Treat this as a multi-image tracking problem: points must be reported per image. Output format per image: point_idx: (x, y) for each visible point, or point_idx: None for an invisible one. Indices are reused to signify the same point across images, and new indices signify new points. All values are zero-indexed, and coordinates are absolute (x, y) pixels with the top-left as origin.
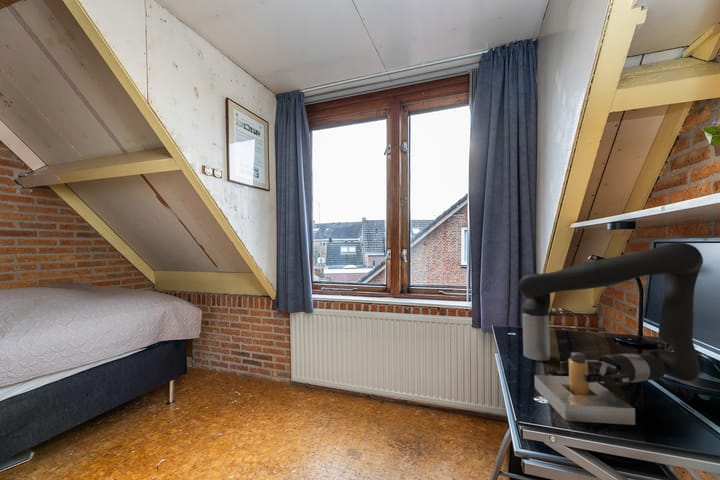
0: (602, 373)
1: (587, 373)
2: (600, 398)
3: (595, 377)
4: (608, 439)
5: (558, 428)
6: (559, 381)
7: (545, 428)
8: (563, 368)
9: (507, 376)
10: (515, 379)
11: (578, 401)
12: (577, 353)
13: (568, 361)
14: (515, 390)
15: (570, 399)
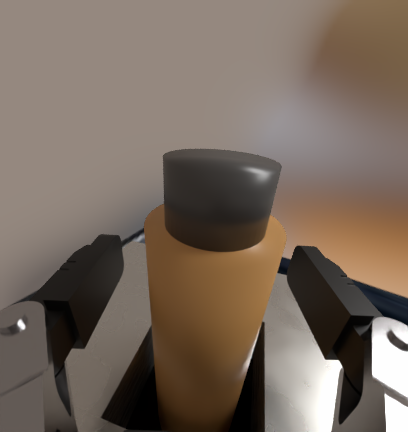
0: (5, 317)
1: (107, 239)
2: (78, 395)
3: (64, 271)
4: (26, 300)
5: (123, 247)
6: (296, 338)
7: (135, 234)
8: (290, 280)
9: (394, 295)
10: (378, 304)
11: (123, 276)
12: (234, 160)
13: (336, 283)
14: (287, 266)
15: (144, 267)
